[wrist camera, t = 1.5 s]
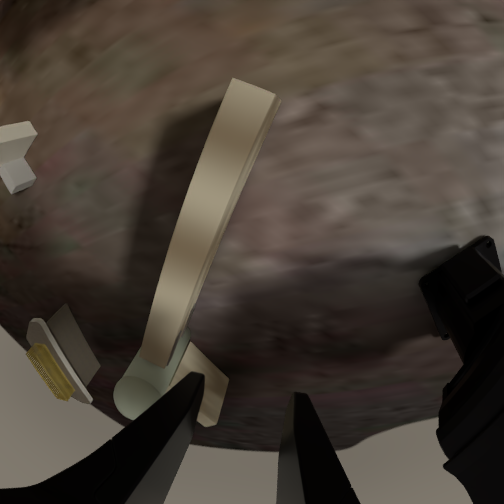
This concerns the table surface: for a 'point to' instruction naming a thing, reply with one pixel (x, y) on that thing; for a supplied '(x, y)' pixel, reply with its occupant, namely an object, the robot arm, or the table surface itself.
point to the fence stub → (213, 383)
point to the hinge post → (146, 381)
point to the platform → (62, 355)
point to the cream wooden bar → (207, 213)
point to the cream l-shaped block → (16, 155)
